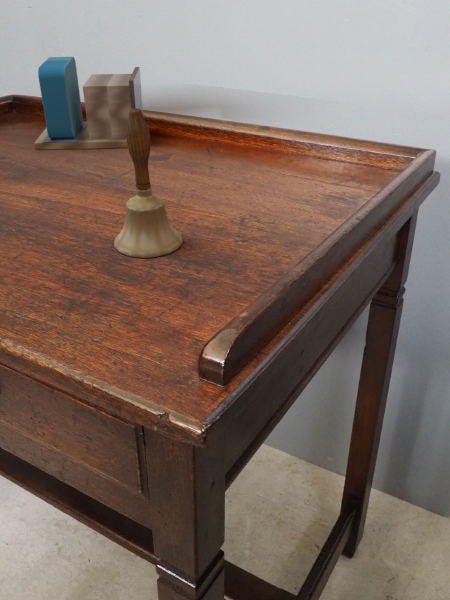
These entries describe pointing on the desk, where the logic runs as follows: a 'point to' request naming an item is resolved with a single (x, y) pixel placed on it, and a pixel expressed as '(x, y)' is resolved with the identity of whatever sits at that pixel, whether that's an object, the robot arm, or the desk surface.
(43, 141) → the book rack
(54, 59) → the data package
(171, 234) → the hand bell
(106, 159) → the desk surface
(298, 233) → the desk surface
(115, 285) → the desk surface
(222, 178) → the desk surface
